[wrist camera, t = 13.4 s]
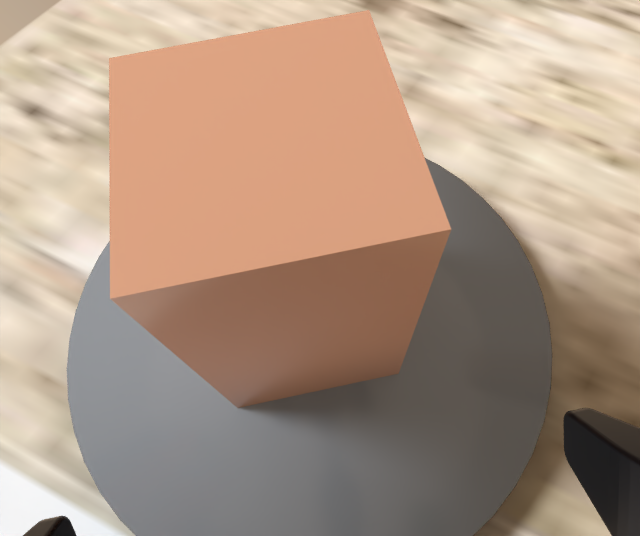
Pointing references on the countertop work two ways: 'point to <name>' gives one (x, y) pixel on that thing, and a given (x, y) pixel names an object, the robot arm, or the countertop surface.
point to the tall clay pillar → (272, 207)
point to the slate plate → (328, 412)
